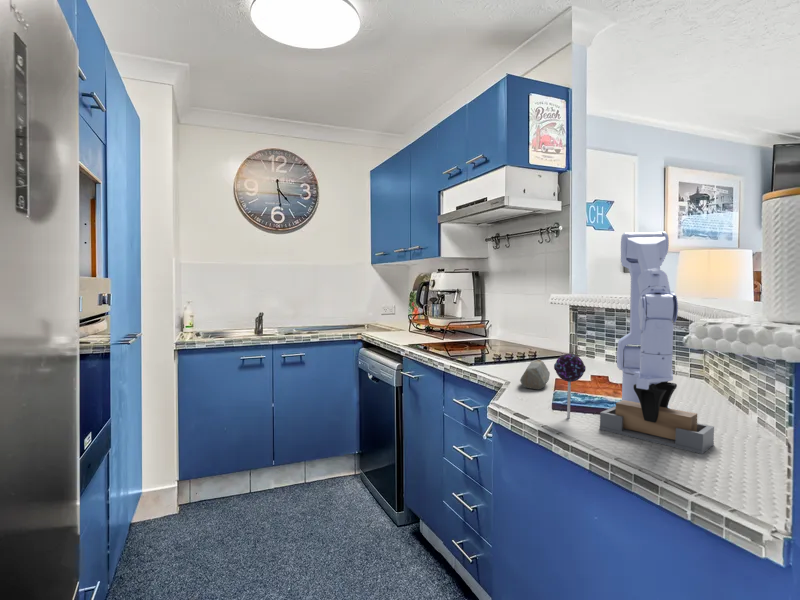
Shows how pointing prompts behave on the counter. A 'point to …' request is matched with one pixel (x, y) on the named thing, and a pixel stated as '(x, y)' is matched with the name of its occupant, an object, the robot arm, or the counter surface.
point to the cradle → (683, 439)
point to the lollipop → (569, 372)
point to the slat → (663, 425)
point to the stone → (535, 375)
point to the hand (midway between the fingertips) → (654, 419)
